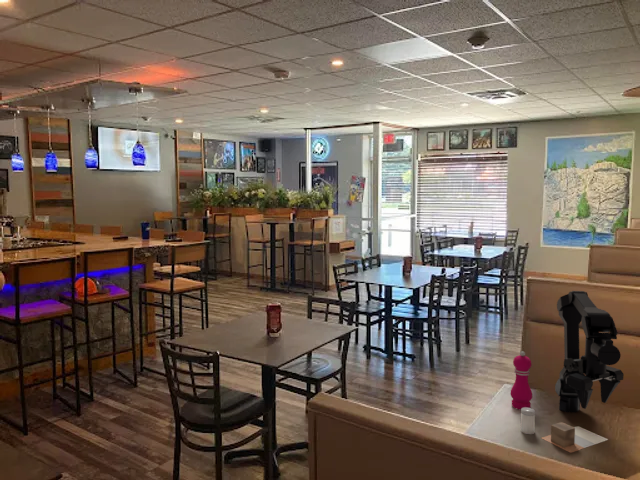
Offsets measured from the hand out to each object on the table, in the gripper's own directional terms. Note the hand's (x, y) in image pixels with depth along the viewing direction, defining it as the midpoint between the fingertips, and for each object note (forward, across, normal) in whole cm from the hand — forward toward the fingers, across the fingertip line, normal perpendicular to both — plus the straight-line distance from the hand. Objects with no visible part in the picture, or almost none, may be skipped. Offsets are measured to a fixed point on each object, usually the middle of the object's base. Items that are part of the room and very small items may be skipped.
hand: (593, 405), depth 148 cm
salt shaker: (+12, +12, -13) cm, 22 cm away
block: (+11, +9, -3) cm, 15 cm away
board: (+12, +4, -3) cm, 13 cm away
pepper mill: (+12, -3, -29) cm, 32 cm away
